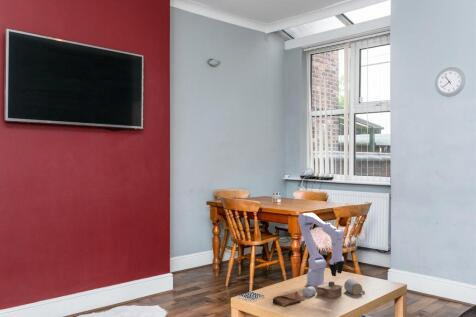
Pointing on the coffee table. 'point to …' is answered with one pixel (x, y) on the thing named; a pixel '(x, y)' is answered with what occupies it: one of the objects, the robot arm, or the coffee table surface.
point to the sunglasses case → (288, 299)
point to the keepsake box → (329, 293)
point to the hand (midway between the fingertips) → (336, 274)
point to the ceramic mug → (353, 287)
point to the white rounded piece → (309, 291)
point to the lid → (329, 286)
